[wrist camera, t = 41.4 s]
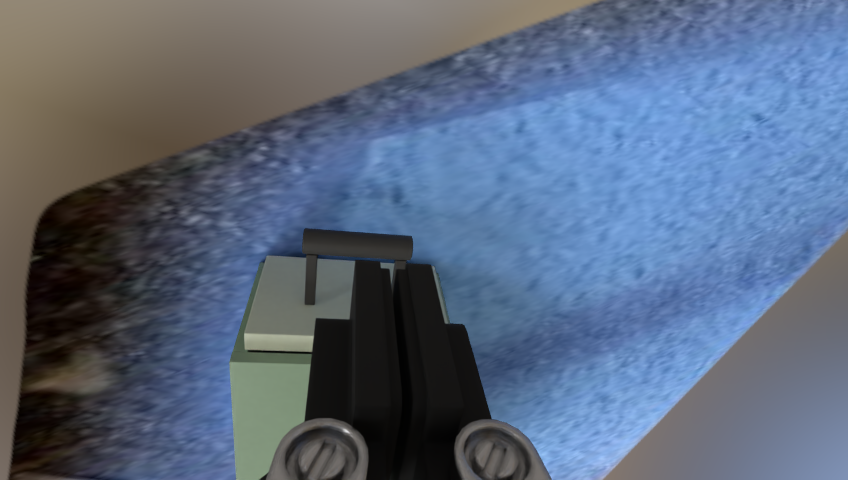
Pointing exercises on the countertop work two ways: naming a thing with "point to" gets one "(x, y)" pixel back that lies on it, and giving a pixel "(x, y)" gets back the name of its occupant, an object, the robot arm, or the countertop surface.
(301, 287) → the pull-out drawer
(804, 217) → the countertop surface
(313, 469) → the robot arm
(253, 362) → the sage drawer box
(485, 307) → the countertop surface
